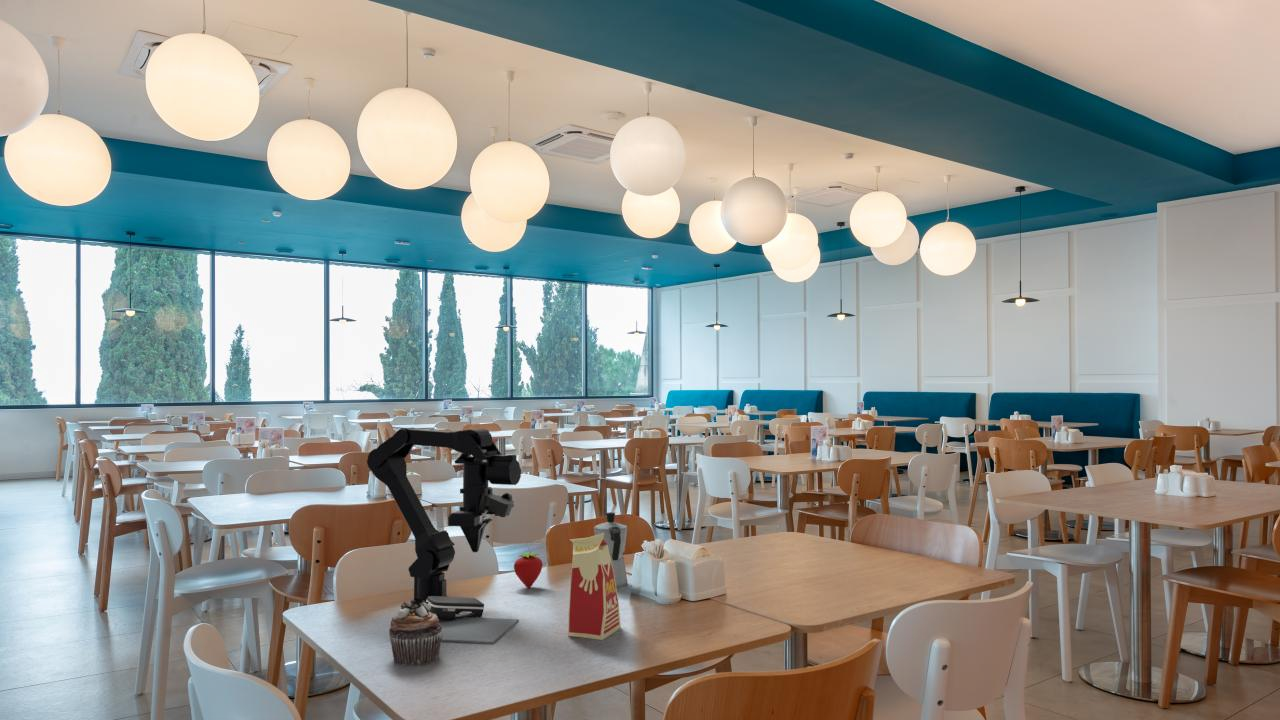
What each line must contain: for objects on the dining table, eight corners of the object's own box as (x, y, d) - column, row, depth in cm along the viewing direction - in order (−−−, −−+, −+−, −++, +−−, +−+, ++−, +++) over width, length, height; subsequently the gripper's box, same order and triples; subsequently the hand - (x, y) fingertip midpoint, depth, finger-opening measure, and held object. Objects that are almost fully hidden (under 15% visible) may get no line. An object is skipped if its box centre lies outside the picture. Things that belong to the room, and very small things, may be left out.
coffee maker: (589, 579, 210) (589, 509, 210) (622, 577, 212) (622, 508, 212) (600, 593, 195) (600, 518, 196) (635, 590, 197) (635, 516, 198)
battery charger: (472, 614, 178) (421, 613, 173) (475, 597, 179) (424, 595, 173) (483, 622, 172) (430, 621, 167) (486, 604, 173) (433, 602, 167)
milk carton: (620, 627, 166) (620, 529, 167) (604, 640, 158) (604, 537, 158) (580, 623, 169) (580, 527, 170) (561, 636, 161) (561, 534, 161)
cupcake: (392, 670, 141) (392, 612, 141) (386, 653, 150) (386, 599, 150) (447, 662, 145) (448, 606, 145) (438, 647, 154) (439, 594, 154)
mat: (405, 639, 158) (405, 637, 158) (438, 617, 174) (438, 615, 174) (492, 644, 155) (492, 641, 155) (518, 621, 171) (518, 619, 171)
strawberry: (509, 587, 201) (509, 547, 201) (535, 583, 205) (535, 543, 206) (520, 592, 196) (520, 550, 197) (547, 587, 201) (547, 547, 201)
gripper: (495, 488, 175) (495, 561, 174) (522, 479, 193) (521, 545, 193) (446, 488, 177) (446, 559, 176) (477, 479, 195) (477, 544, 194)
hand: (475, 552), depth 185 cm, fingers closed
